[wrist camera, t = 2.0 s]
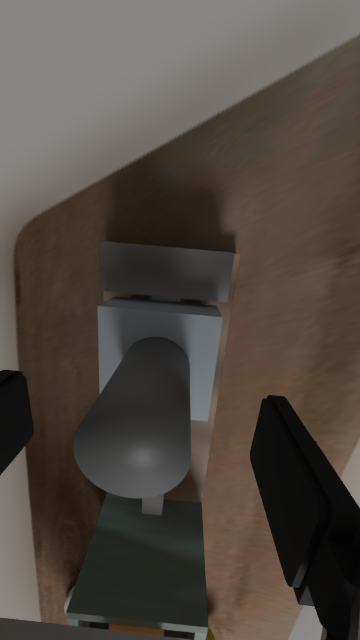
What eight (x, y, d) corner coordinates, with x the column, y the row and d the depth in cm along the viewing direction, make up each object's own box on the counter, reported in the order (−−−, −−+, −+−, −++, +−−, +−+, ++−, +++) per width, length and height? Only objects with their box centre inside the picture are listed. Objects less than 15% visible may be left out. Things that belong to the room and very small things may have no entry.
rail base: (194, 531, 26) (197, 677, 17) (108, 522, 26) (66, 662, 17) (235, 254, 17) (288, 252, 8) (105, 243, 17) (13, 229, 8)
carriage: (203, 385, 18) (221, 535, 8) (118, 378, 18) (39, 517, 8) (214, 302, 16) (253, 372, 6) (119, 293, 16) (15, 350, 6)
